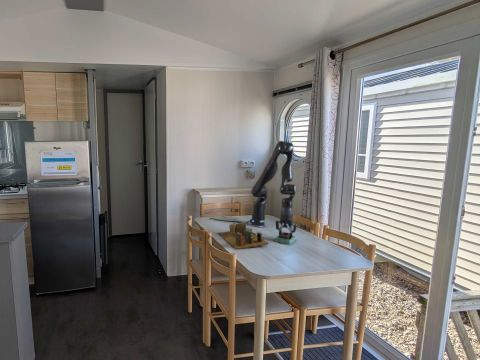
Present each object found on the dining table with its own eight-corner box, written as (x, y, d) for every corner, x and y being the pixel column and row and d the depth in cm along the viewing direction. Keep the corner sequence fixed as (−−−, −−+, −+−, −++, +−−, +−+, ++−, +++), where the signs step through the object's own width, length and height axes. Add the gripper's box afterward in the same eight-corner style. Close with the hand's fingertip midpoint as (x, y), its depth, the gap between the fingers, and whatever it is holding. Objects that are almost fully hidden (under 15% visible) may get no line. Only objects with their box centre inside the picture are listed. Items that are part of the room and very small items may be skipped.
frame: (287, 240, 200) (288, 236, 200) (278, 238, 204) (279, 234, 204) (291, 237, 206) (291, 233, 206) (282, 235, 210) (283, 231, 210)
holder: (289, 244, 198) (289, 240, 198) (275, 241, 204) (275, 237, 204) (295, 240, 207) (295, 236, 206) (281, 237, 213) (281, 233, 212)
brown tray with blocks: (271, 248, 192) (269, 226, 190) (236, 254, 189) (234, 232, 187) (248, 231, 226) (246, 212, 224) (218, 236, 224) (216, 217, 221)
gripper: (299, 213, 201) (298, 237, 203) (277, 210, 210) (276, 233, 213) (296, 216, 195) (294, 240, 198) (274, 212, 205) (272, 236, 207)
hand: (285, 236), depth 205 cm, fingers closed on frame, 6 cm apart
